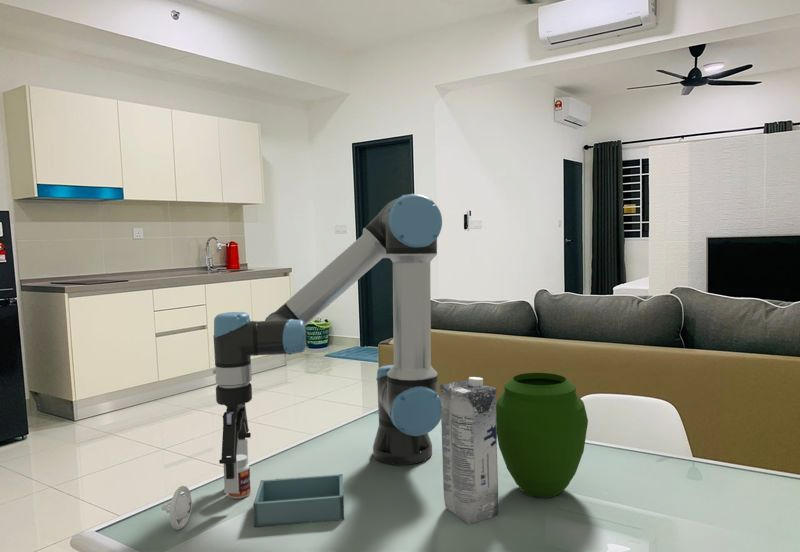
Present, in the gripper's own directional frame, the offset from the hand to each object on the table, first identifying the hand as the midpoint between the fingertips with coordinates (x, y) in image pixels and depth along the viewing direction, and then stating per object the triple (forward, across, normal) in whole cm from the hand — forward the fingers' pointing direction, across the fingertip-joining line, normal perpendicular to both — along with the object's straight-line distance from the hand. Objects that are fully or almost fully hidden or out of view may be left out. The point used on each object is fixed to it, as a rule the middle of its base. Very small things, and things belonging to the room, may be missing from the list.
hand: (237, 479), depth 129 cm
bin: (+3, +10, +14) cm, 18 cm away
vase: (+3, +10, +66) cm, 66 cm away
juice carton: (+3, +17, +48) cm, 51 cm away
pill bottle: (+4, 0, 0) cm, 4 cm away
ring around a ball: (+4, +13, -10) cm, 17 cm away
